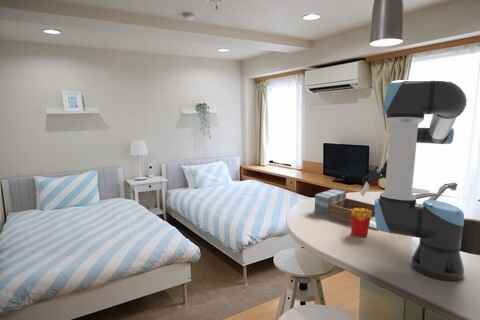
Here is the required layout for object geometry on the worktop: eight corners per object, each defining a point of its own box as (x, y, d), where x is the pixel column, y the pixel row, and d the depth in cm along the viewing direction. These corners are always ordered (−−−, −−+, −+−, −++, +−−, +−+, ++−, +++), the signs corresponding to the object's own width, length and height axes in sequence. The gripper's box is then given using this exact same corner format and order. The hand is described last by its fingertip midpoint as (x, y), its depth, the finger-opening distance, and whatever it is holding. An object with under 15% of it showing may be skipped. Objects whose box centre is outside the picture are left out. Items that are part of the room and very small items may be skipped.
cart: (376, 230, 139) (378, 209, 137) (314, 212, 163) (315, 194, 162) (392, 221, 150) (394, 202, 149) (332, 205, 175) (333, 189, 173)
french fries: (349, 235, 134) (351, 209, 132) (349, 232, 137) (351, 206, 135) (370, 238, 131) (372, 211, 129) (369, 234, 135) (371, 208, 133)
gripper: (425, 171, 136) (406, 209, 130) (373, 163, 156) (354, 196, 150) (421, 160, 132) (400, 199, 126) (367, 154, 152) (348, 187, 146)
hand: (375, 198), depth 138 cm, fingers open, 13 cm apart
